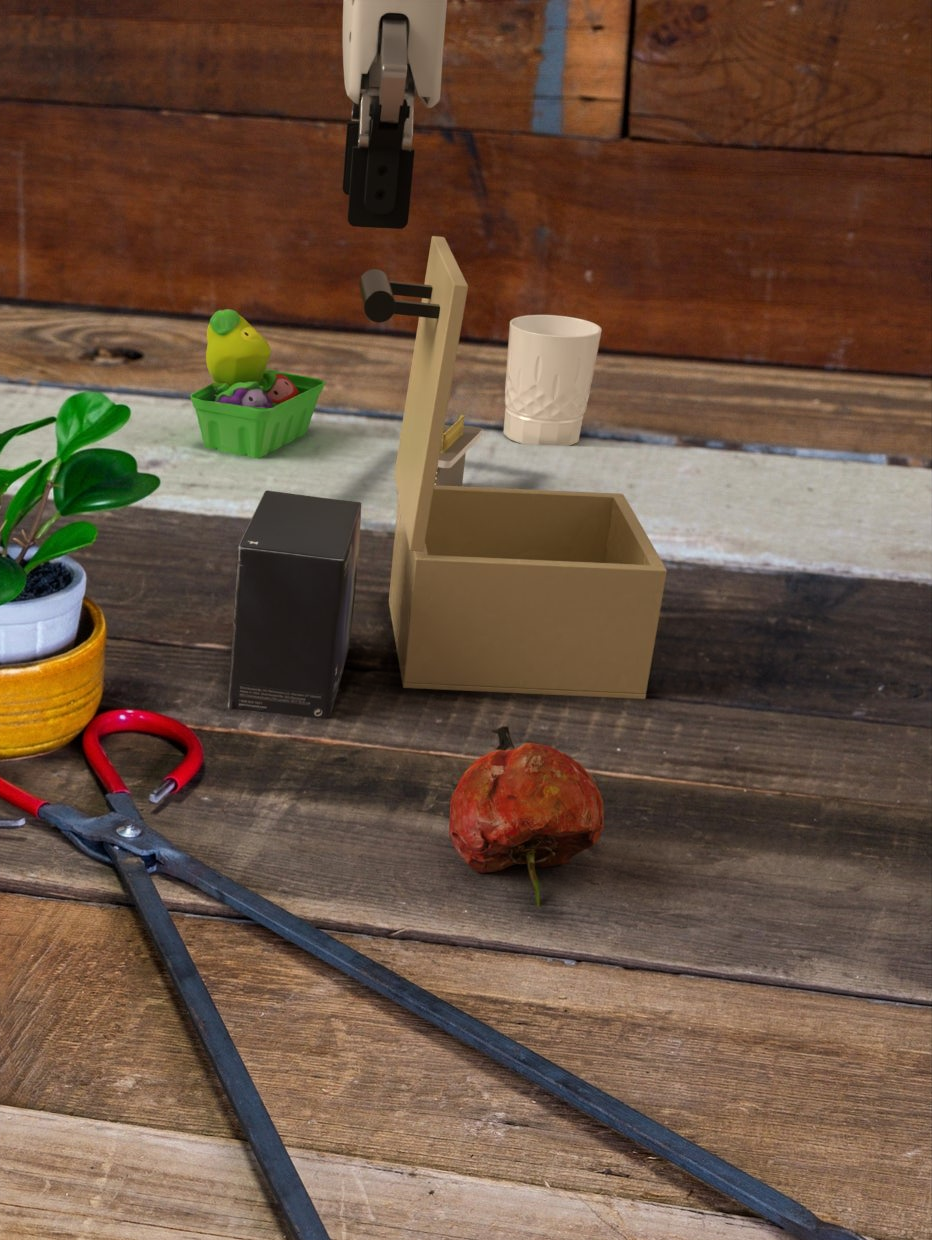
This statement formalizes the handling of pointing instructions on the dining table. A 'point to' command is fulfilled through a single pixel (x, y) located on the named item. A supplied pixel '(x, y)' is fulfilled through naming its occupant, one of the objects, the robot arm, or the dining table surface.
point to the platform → (455, 452)
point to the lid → (422, 373)
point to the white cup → (548, 378)
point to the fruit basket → (249, 392)
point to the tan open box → (527, 594)
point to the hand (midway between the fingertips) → (373, 210)
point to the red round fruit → (524, 809)
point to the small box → (294, 604)
